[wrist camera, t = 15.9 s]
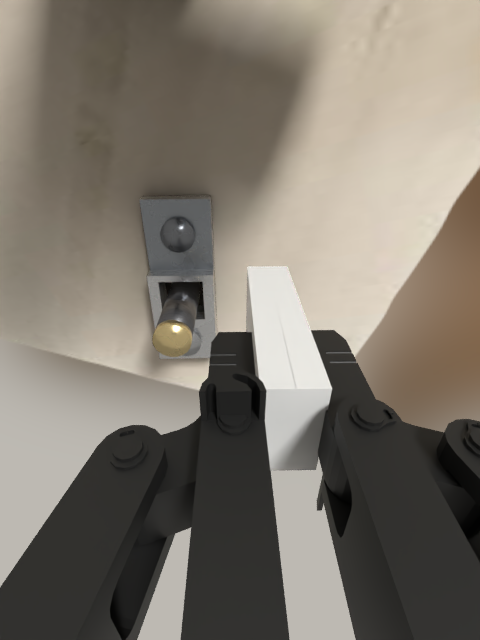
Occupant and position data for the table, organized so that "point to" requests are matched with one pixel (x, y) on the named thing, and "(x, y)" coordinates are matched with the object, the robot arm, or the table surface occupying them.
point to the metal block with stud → (182, 259)
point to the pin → (177, 319)
